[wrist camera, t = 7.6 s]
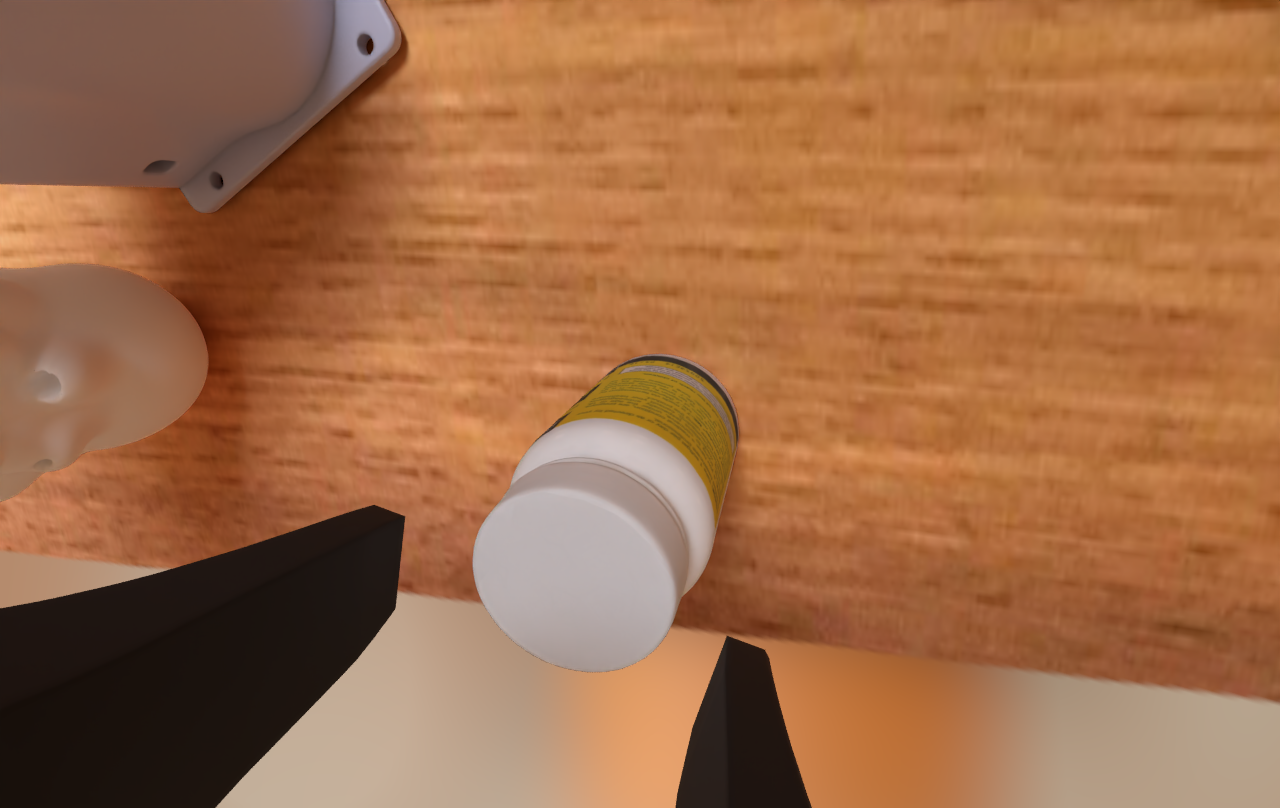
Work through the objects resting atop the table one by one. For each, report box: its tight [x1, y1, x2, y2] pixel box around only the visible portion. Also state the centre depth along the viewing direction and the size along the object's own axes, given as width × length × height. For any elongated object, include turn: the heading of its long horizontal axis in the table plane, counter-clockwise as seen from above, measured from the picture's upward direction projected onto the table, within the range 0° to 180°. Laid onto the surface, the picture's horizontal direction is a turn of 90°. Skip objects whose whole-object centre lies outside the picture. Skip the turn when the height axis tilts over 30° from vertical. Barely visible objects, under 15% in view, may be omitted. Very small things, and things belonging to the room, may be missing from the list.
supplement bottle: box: [473, 354, 739, 672], centre depth 15 cm, size 5×5×8 cm
